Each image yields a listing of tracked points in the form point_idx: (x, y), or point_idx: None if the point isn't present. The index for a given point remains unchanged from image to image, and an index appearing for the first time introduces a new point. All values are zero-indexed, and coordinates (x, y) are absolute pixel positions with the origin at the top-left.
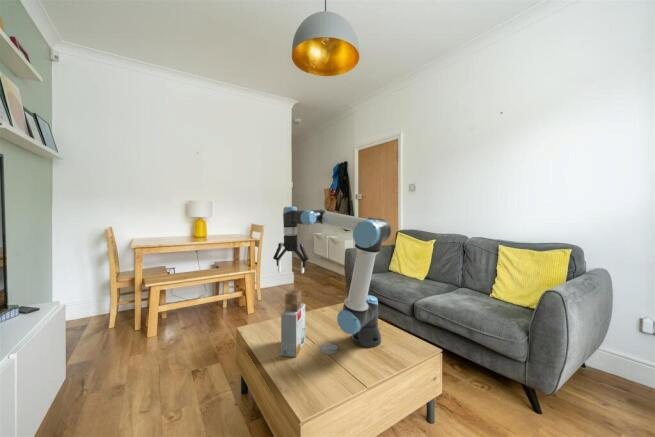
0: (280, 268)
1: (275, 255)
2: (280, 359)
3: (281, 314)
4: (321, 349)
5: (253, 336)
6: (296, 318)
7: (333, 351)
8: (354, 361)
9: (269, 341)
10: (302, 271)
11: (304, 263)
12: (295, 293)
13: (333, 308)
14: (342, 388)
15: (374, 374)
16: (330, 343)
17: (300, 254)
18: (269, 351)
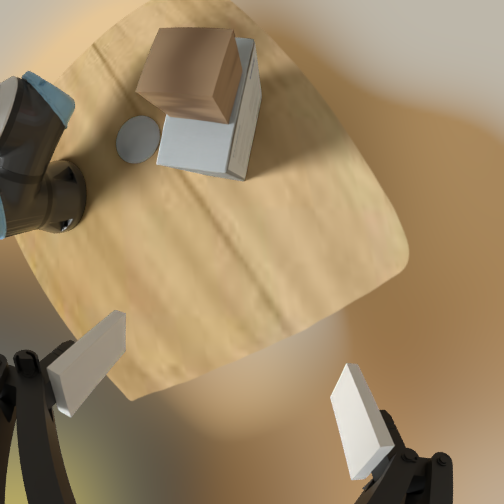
0: (343, 402)
1: (441, 490)
2: (260, 83)
3: (252, 39)
4: (154, 130)
5: (369, 205)
6: None
7: (127, 126)
8: (92, 102)
9: (314, 172)
10: (104, 318)
11: (46, 360)
12: (167, 48)
13: (150, 380)
14: (128, 28)
15: (72, 75)
16: (132, 162)
17: (25, 456)
18: (300, 118)
